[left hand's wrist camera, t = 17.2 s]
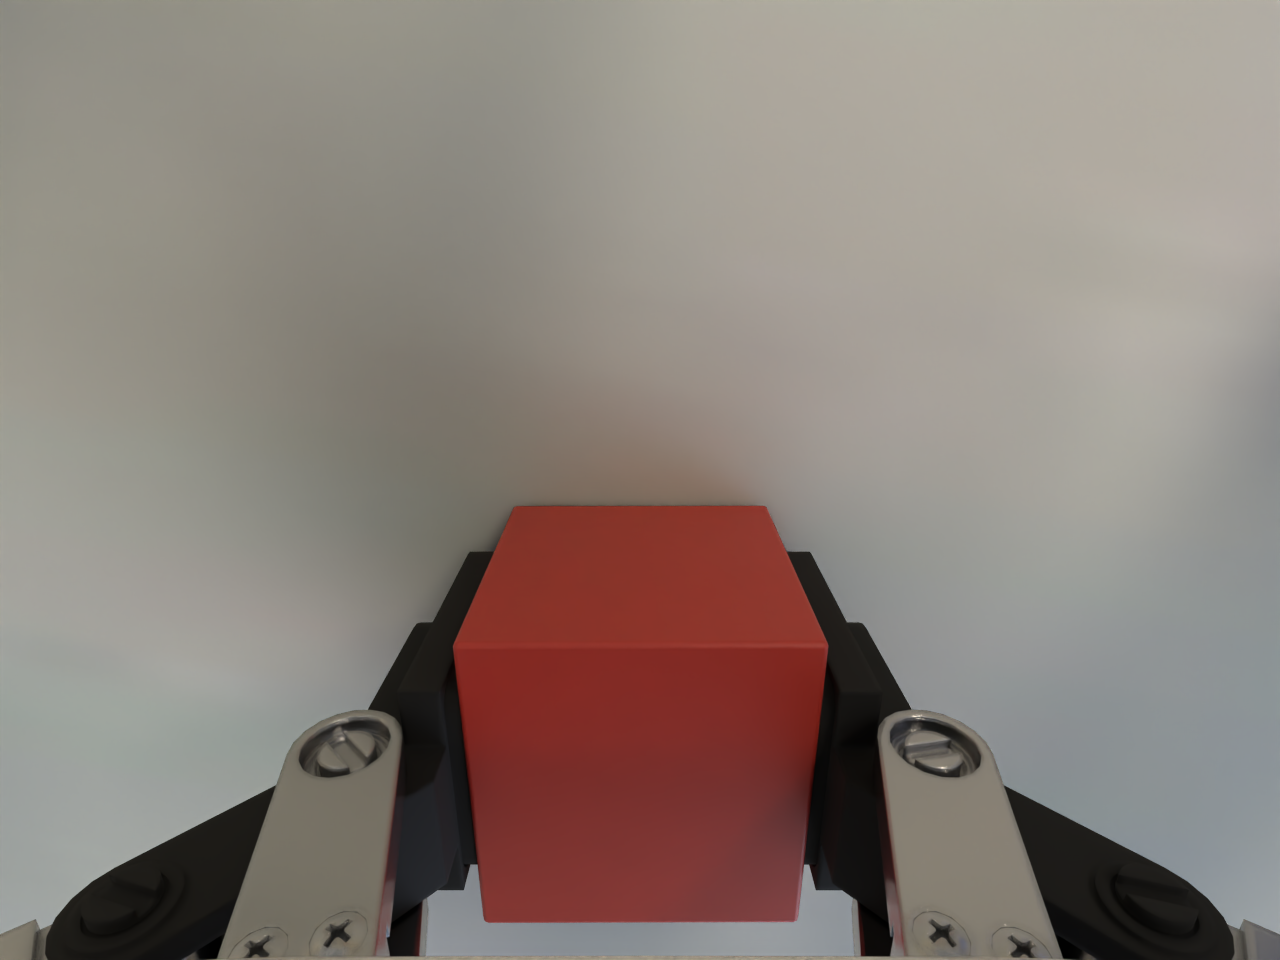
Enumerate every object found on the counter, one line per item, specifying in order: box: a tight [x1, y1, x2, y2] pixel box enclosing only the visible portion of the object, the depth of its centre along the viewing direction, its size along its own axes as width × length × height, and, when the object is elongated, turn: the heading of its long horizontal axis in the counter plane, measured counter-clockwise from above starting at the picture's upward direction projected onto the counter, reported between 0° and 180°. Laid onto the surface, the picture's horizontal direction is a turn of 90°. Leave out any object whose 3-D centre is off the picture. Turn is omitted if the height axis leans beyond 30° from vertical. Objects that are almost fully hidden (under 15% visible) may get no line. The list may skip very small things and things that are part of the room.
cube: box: [453, 506, 828, 923], centre depth 11 cm, size 4×5×4 cm
